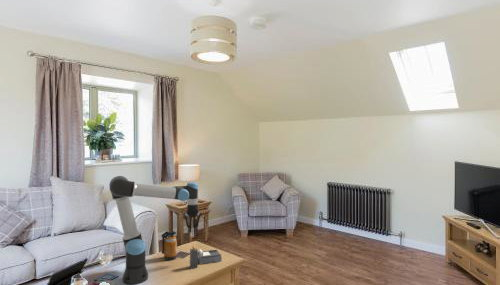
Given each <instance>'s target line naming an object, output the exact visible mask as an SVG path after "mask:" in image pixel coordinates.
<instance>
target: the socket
mask: <svg viewBox="0 0 500 285" xmlns="http://www.w3.org/2000/svg"><path fill="white" fill-rule="evenodd" d="M202 251H203V252H209V253H210V255H211V256H204V257H201V256H200V254H199V251H198V263H199V265H205V264H211V263H212V264H213V263H220V262H222V255H221V253H220V252H219V251H218V249H212V250H202Z"/></svg>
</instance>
